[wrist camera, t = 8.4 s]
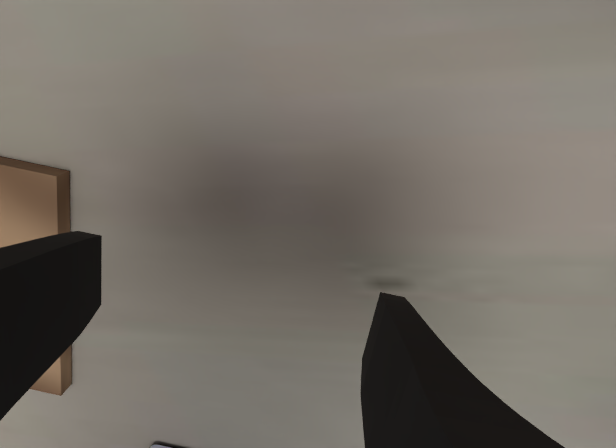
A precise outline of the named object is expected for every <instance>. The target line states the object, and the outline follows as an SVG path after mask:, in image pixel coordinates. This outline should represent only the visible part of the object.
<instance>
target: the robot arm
mask: <svg viewBox="0 0 616 448" xmlns="http://www.w3.org/2000/svg"><path fill="white" fill-rule="evenodd" d="M100 305H101V236H100V235H95V234H90V233H85V232H80V231H75V232H67V233H61V234H56V235H52V236H47V237H43V238H38V239H34V240H30V241H26V242H22V243H18V244H14V245H9V246H5V247H1V248H0V420H1V419H2V418H3V417H4V416H5V415H6V414H7V412H8V411H9V410H10V409H11V408H12V407H13V406H14V404H15V403H16V402H17V401H18V400H19V399H20V398H21V397H22V396H23V395H24V394H25V393H26V392H27V391H28V390H29V389H30V388H31V387H32V385H33V384H34V383H35V382H36V381H37V380H38V379H39V378H40V377H41V376H42V375H43V374H44V373H45V372H46V371H47V370H48V369H49V368H50V367H51V366H52V364H53V363H54V362H55V361H56V360H57V359H58V358H59V357H60V356H61V355H62V354H63V353H64V352H65V351H66V350H67V348H68V347H69V346H70V345H71V344H72V343H73V342H74V341H75V340H76V339H77V338H78V336H79V335H80V334H81V333H82V331H83V330H84V329H85V327H86V326H87V324H88V323H89V322H90V320H91V319H92V317H93V316H94V314H95V313H96V311H97V310H98V308H99V307H100ZM361 405H362V417H363V429H364V440H365V448H564V447H563V446H562V445H560V444H559V443H557V442H556V441H554V440H553V439H551V438H550V437H548V436H547V435H546V434H544V433H543V432H542V431H540V430H539V429H538V428H536V427H535V426H534V425H532V424H531V423H530V422H528V421H527V420H526V419H524V418H523V417H521V416H520V415H519V414H518V413H516V412H515V411H514V410H513V409H511V408H510V407H509V406H508V405H506V404H505V403H504V402H503V401H502V400H501V399H499V398H498V397H497V396H496V395H495V394H494V393H493V392H491V391H490V390H489V389H488V388H487V387H486V386H485V385H483V384H482V383H481V382H480V381H479V380H478V379H477V378H476V377H475V376H474V375H473V374H472V373H471V372H470V371H469V370H468V369H467V368H466V367H465V366H464V365H463V364H462V363H461V362H460V361H459V360H458V359H457V358H456V357H455V356H454V355H453V354H452V353H451V351H450V350H449V349H448V348H447V347H446V346H445V345H444V344H443V343H442V341H441V340H440V339H439V338H438V337H437V336H436V334H435V333H434V332H433V331H432V330H431V329H430V327H429V326H428V325H427V324H426V322H425V321H424V320H423V319H422V318H421V316H420V315H419V314H418V313H417V311H416V310H415V309H414V308H413V306H412V305H411V304H410V303H409V302H408V301H407V299H406V298H405V297H401V296H396V295H391V294H386V293H381V292H380V295H379V299H378V303H377V306H376V310H375V314H374V317H373V321H372V325H371V328H370V332H369V336H368V339H367V343H366V347H365V350H364V354H363V358H362V373H361ZM150 448H171V447H166V446H162V445H152V446H151V447H150Z"/></svg>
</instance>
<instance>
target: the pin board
mask: <svg viewBox="0 0 616 448" xmlns="http://www.w3.org/2000/svg"><path fill="white" fill-rule="evenodd" d="M67 232H70V176H69V171H67V170H62V169H57V168H52V167H48V166H43V165H38V164H34V163H29V162H24V161H19V160H15V159H10V158H5V157H0V248H1V247H5V246H9V245H14V244H18V243H22V242H26V241H30V240H34V239H38V238H43V237H47V236H52V235H56V234H61V233H67ZM71 384H72V375H71V345H70V346H69V347H68V348H67V350H66V351H65V352H64V353H63V354H62V355H61V356H60V357H59V358H58V359H57V360H56V361H55V362H54V363H53V364H52V366H51V367H50V368H49V369H48V370H47V371H46V372H45V373H44V374H43V375H42V376H41V377H40V378H39V379H38V380H37V381H36V382H35V383H34V384H33V385H32V387H31V388H30V389H33V390H38V391H42V392H47V393H51V394H56V395H60V396H61V395H62V394H63V393H64V392H65V391H66V389H67V388H68V387H69V386H70V385H71Z"/></svg>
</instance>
